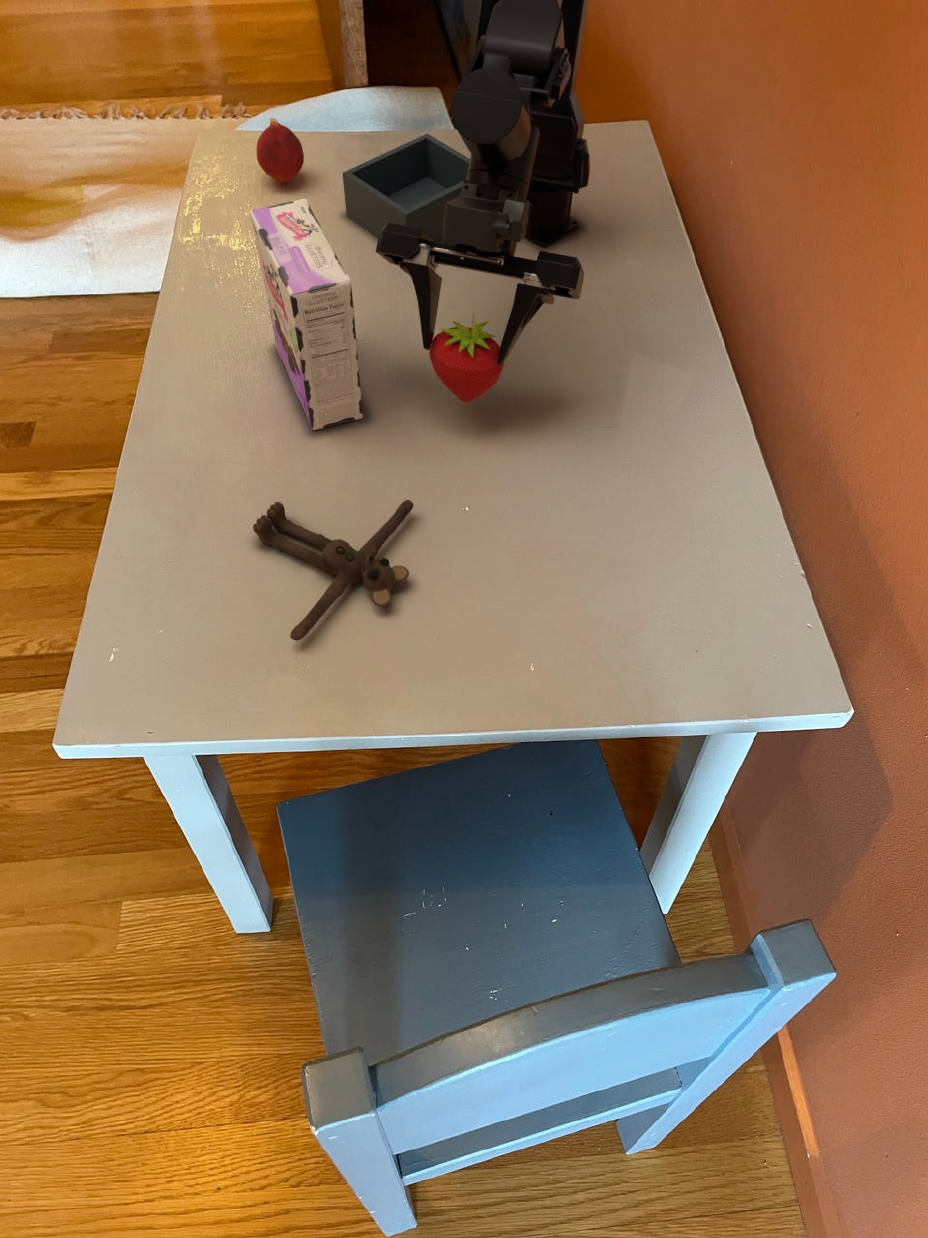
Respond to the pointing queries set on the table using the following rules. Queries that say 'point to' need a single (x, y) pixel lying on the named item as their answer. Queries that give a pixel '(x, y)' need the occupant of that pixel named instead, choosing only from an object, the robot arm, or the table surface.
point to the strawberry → (466, 360)
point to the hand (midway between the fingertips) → (462, 356)
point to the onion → (279, 152)
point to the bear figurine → (337, 560)
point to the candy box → (310, 312)
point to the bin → (406, 186)
